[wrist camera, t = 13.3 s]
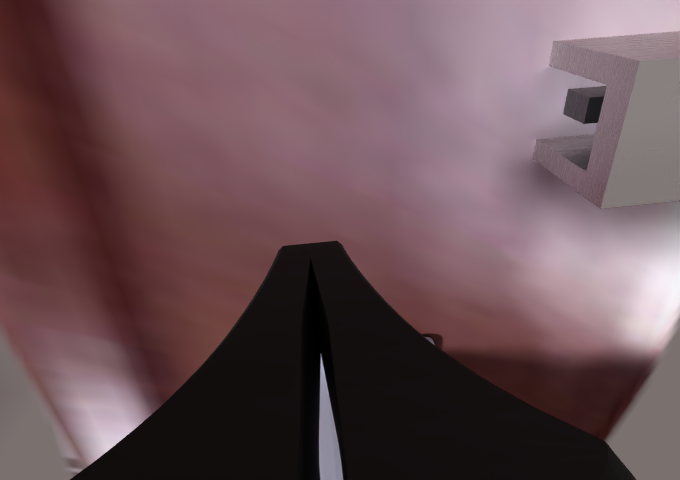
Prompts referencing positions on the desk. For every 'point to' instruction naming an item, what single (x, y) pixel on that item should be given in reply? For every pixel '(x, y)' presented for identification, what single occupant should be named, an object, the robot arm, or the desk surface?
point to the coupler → (585, 104)
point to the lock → (622, 121)
